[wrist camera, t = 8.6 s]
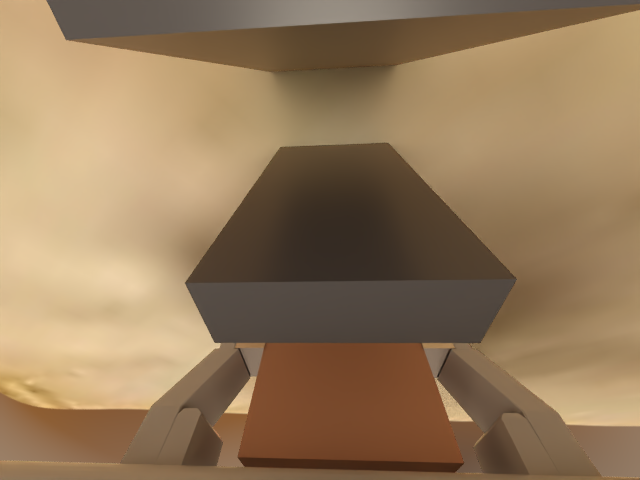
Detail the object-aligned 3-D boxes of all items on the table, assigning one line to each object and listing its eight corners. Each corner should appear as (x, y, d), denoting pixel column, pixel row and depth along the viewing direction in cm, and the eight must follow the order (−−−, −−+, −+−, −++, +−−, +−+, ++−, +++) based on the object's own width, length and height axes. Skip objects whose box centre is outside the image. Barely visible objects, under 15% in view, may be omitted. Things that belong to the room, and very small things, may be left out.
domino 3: (290, 238, 13) (237, 457, 5) (383, 236, 13) (464, 462, 5) (293, 261, 14) (251, 476, 6) (380, 260, 13) (445, 482, 6)
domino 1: (263, 18, 9) (-140, -378, 1) (402, 9, 8) (992, -553, 1) (270, 71, 10) (66, 40, 2) (396, 65, 9) (676, 1, 2)
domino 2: (280, 147, 11) (184, 283, 4) (388, 143, 11) (517, 278, 3) (284, 180, 12) (215, 342, 5) (384, 176, 12) (480, 343, 4)
